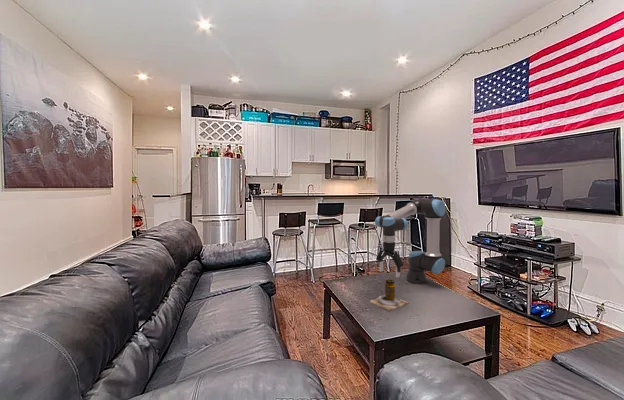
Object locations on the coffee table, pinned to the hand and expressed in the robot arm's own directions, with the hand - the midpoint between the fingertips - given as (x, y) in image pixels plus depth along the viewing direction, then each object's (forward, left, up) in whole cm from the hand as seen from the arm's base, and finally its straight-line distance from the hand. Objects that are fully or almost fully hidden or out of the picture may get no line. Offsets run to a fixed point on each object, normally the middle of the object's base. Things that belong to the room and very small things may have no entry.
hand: (389, 273), depth 182 cm
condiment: (0, 0, -17) cm, 17 cm away
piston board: (0, 0, -19) cm, 19 cm away
